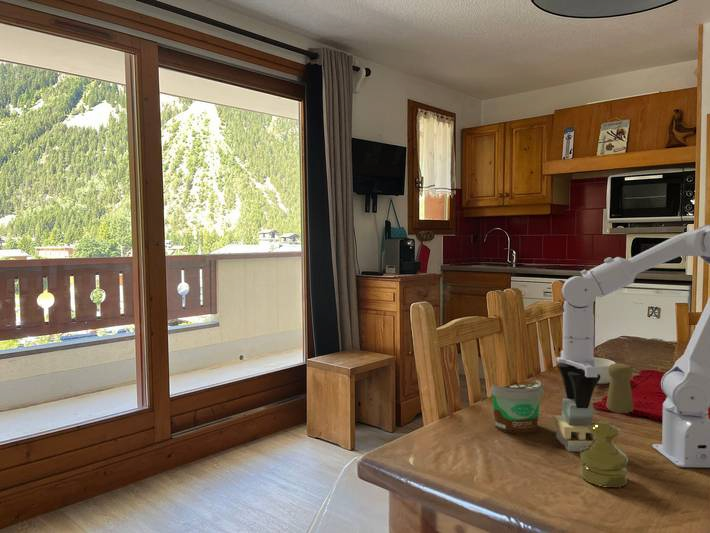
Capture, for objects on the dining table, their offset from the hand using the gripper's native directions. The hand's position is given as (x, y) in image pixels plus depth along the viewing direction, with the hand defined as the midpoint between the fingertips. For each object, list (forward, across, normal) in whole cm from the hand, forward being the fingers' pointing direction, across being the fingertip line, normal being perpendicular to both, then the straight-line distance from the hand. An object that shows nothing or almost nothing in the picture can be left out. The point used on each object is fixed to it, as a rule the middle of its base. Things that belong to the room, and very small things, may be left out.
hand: (577, 403), depth 103 cm
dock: (+8, 0, 0) cm, 8 cm away
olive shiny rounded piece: (+9, +15, -1) cm, 17 cm away
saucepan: (+9, -45, +20) cm, 50 cm away
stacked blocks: (+6, 0, 0) cm, 6 cm away
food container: (+9, -7, -9) cm, 14 cm away
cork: (+9, -22, +18) cm, 30 cm away
